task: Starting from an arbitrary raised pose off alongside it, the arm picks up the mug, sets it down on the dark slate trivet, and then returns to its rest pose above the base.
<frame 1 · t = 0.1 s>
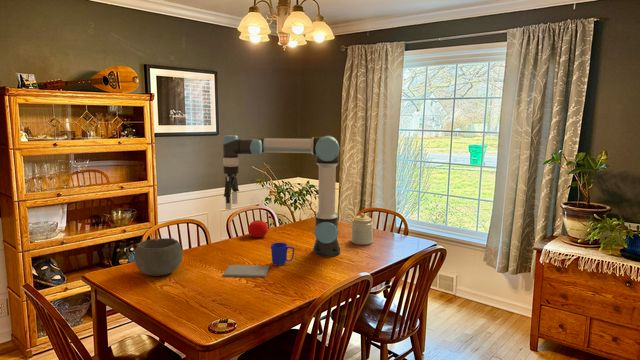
hand: (231, 206, 222), 28 cm above the table, fingers open, 13 cm apart
mug: (282, 264, 219), on the table
trivet: (246, 271, 207), on the table
tomato: (258, 237, 268), on the table
jar: (361, 242, 259), on the table
bowl: (159, 273, 204), on the table
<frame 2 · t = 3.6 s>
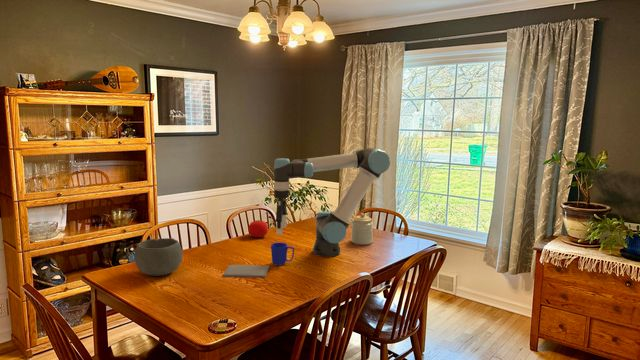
hand: (281, 230, 217), 17 cm above the table, fingers open, 13 cm apart
nothing on the table moved.
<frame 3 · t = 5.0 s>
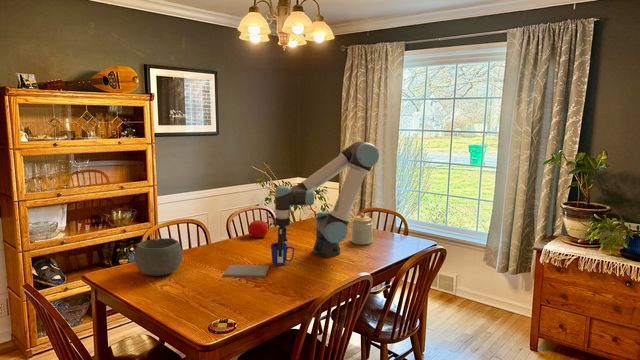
hand: (281, 258, 218), 3 cm above the table, fingers open, 13 cm apart
nothing on the table moved.
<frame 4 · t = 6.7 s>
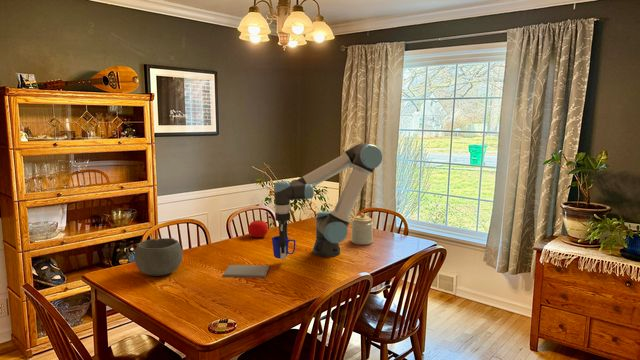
hand: (284, 256, 218), 4 cm above the table, fingers closed on mug, 7 cm apart
mug: (284, 257, 218), point 3 cm above the table, touching gripper
everything else where it was.
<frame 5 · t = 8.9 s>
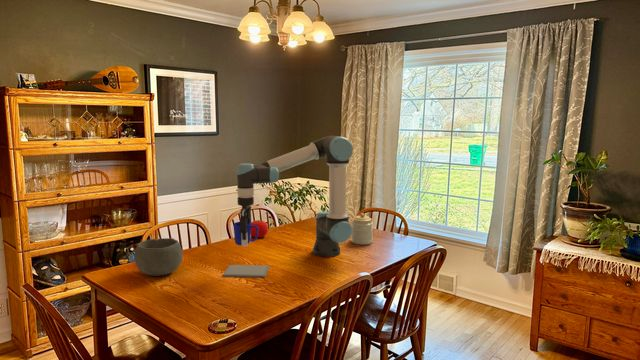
hand: (246, 243, 205), 14 cm above the table, fingers closed on mug, 7 cm apart
mug: (246, 244, 205), point 14 cm above the table, touching gripper
everything else where it was.
when the fingers open (2 cm above the table, at t = 11.3 s): mug stays where it is, resting on trivet.
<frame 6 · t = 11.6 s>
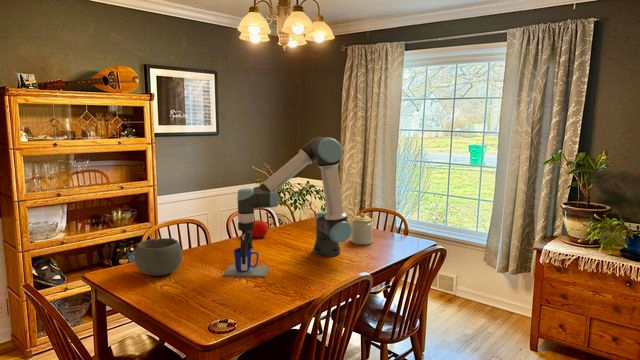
hand: (246, 266, 207), 3 cm above the table, fingers open, 10 cm apart
mug: (246, 270, 207), point 1 cm above the table, touching trivet
everything else where it was.
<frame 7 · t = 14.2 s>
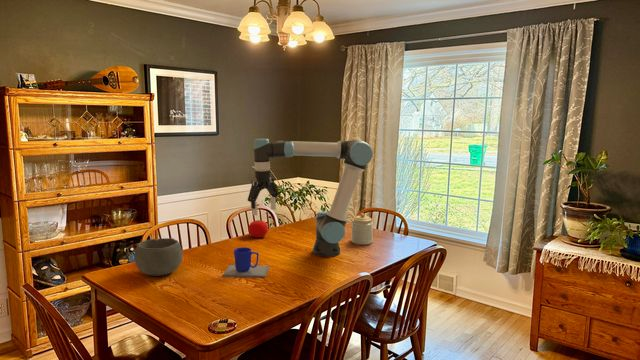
hand: (264, 212, 215), 27 cm above the table, fingers open, 13 cm apart
nothing on the table moved.
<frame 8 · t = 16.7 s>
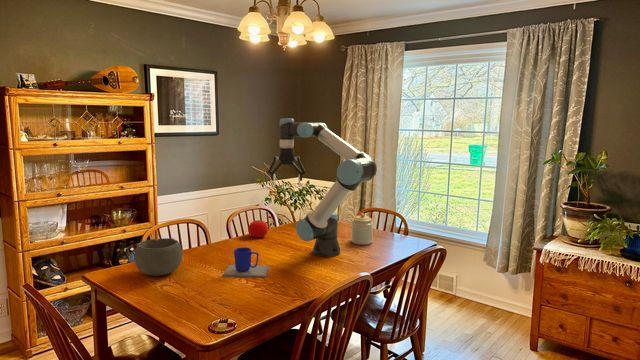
hand: (286, 186, 233), 37 cm above the table, fingers open, 13 cm apart
nothing on the table moved.
at the end: mug inside the target area on the trivet (0.3 cm from its centre), point 0.7 cm above the trivet's base; mug tilted 0°; mug touching trivet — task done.
